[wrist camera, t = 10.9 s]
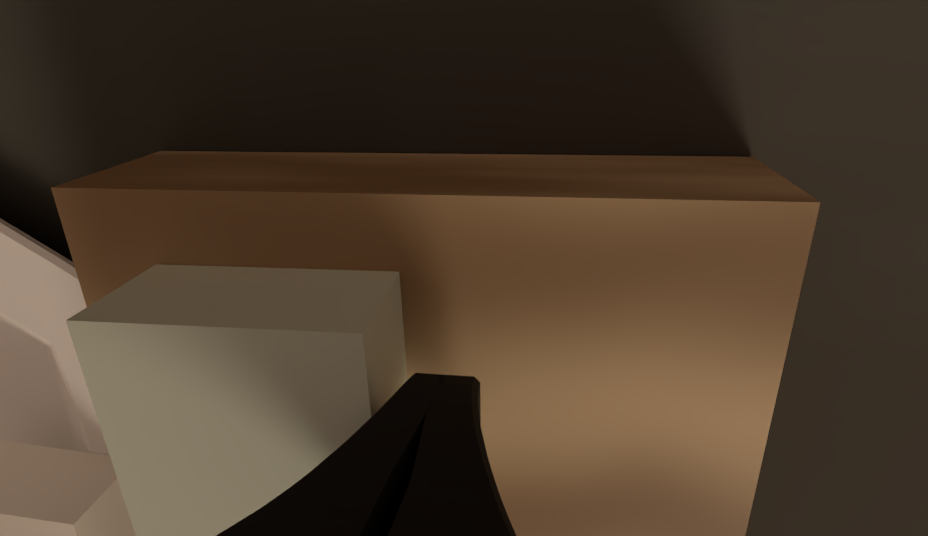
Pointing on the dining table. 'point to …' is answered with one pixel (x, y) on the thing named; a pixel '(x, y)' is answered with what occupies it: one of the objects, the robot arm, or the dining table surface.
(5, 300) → the pale beige plate
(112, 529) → the white tile
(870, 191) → the dining table surface
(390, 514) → the robot arm
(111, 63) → the dining table surface
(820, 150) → the dining table surface
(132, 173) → the oak board
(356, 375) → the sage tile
